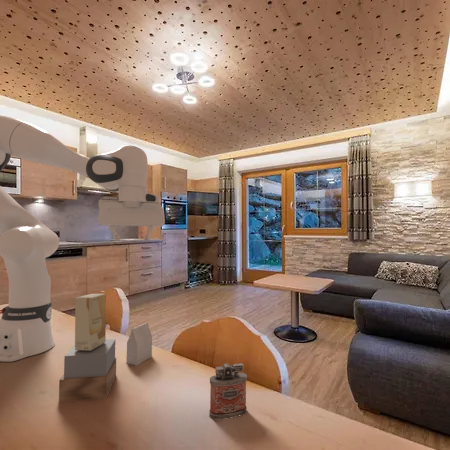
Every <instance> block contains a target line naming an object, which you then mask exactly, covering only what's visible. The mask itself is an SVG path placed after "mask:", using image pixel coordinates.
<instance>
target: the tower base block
mask: <svg viewBox="0 0 450 450" xmlns="http://www.w3.org/2000/svg"><path fill="white" fill-rule="evenodd" d="M116 377H117V357H115V360H114V362H113V364H112V365H111V367H110V369H109V371H108V373H107V375H106V376H96V377H81V378H65V379H64V374H63V375H62V376H61V377H60V378H59V380H58V382H59V384H58V402H62V403H63V402H73V401H75V402H76V401H87V400H88V401H89V400H100V399H107V397H108V395H109V393H110V390H111V388H112V386H113V384H114V381H115V379H116Z"/></svg>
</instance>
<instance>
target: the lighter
mask: <svg viewBox="0 0 450 450" xmlns="http://www.w3.org/2000/svg"><path fill="white" fill-rule="evenodd" d="M244 366H245V365H244V364H243V363H241V362H240V363H233V364H231V365H230V364H229V363H224V364H223V365H222V366H216V367H215V375H212V376H210V378H209V385H210V396H209V397H210V398H209V399H210V400H209V401H210V402H209V403H210V404H209V411H208V413H209V414H208V415H209V418H210V419H211V420H224V419H223V418H228V419H232V418H231V417H234V418H236V417H235V416H238V417H240V416H239V415H241V416H243V414H244V415H246V414H247V412H248V411H247V410H248V409H247V381H248V375H247V374H246V373H244V371H245V369H244V368H245V367H244Z"/></svg>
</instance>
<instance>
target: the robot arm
mask: <svg viewBox="0 0 450 450" xmlns="http://www.w3.org/2000/svg"><path fill="white" fill-rule="evenodd" d="M12 156H13V157H16V158H19V159H21V160H25V161H28V162H32V163H35V164H36V163H37V164H42V165H45V166H46V165H47V166H52V167H57V168H61V169H65V170H69V171H72V172H74V173H77V174H80V175H82V176H85V177H87V178H88V179H90V180H91V182H93V183H95V184H96V185H99V186H100V187H102V188H103V189H105V190H106V191H109V192H112V193H113V192H114V193H117V192H118V195H117V196H103V197H101V198H100V199H99V200H98V209H99V211H98V216H97V217H98V218H97V223H98V224H99V225H100V226H109V230H110V232H111V233H112V235H113V241H120V238H121V237H120V234H117V232H116V230H117V226H118V227H119V226H121V227H124V226H125V227H148V230H149V231H148V233H147V234H144V241H146V242H147V241H148V242H149V241H151V235H152V233H153V232H154V230H155V229H154V227H163V226H164V225H165V222H166V221H165V220H166V219H165V218H166V217H165V211H164V208H163V206H162V205H161V203H162V197H160V196H159V195H157V194H153V193H151V192H148V185H147V179H148V177H149V176H148V175H149V173H148V171H149V167H148V165H149V164H148V157H147V156H148V155H147V153H146V152H145V151H144V150H143V149H141V148H140V147H138V146H135V145H130V144H127V145H126V144H125V145H122V146H120V147H119V148H117V149H115V150H113V151H110V152H106V153H97V154H95V155H92V156H91V157H88V156H86V155H83V154H81V153H79V152H76V151H74V150H73V149H71V148H70V147H68V146H67V145H65V144H64V143H63V142H61V141H60V140H59V139H58V138H56V137H55V136H53V135H52V134H50V133H49V132H48V131H46V130H45V129H43V128H40V127H38V126H37V125H34V124H32V123H29V122H26V121H23V120H20V119H17V118H13V117H11V116H10V117H9V116H6V115H0V173H1V171H3V169H4V168H5V167H6V166H7V165H8V164H9V162H10V160H11V157H12ZM59 246H60V238H59V236H58V235H57V233H56V232H54V231H53V230H52V229H50V228H49V227H48V226H47V225H46V224H44V223H43V222H42V221H40V219H38V218H37V217H36V216H34V215H33V214H32V213H31V212H29V211H28V210H26V209H25V208H24V207H23V206H22V205H21V204H19V203H18V202H17V201H16V200H15V199H14V198H13V197H12V196H11V195H10V194H9V193H8V191H6V190H5V188H3V187H2V186H1V185H0V257H1V258H2V259H3V262H4V266H5V268H6V269H5V270H6V272H7V273H6V274H7V278H8V305H6V306H4V307H3V308H1V309H0V315H1V314H2V315H1V318H0V362H7V363H8V362H9V363H10V362H15V361H19V360H22V359H24V358H27V357H31V356H36V355H39V354H41V353H44V352H47V351H49V350H50V349H52V348H53V347H54V346H55V344H56V343H55V340H54V336H53V333H52V324H51V319H52V313H53V309H52V308H53V305H52V301H51V291H52V290H51V289H52V288H51V286H52V284H51V283H52V279H51V275H50V274H49V272H48V267H47V262H46V261H47V260H46V258H49V257H51V256H52V255H53V254H54V253H55V252H56V251H57V250H58V248H59Z"/></svg>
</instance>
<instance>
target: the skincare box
mask: <svg viewBox="0 0 450 450" xmlns="http://www.w3.org/2000/svg"><path fill="white" fill-rule="evenodd" d="M106 299H107V298H106V293H90V294H85V295H81V296H77V297H75V307H74V308H75V311H74V313H75V315H74V316H75V317H74V318H75V321H74V324H75V325H74V345H75V350H88V351H91V350H93V349H94V348H96V347H98V346H100V345H102V344H103V343H105V342H106V340H107V337H106V335H107V334H106V332H107V331H106V329H107V327H106V324H107V323H106V321H107V319H106V311H107V309H106V308H107V307H106V306H107V305H106V301H107V300H106Z"/></svg>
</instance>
